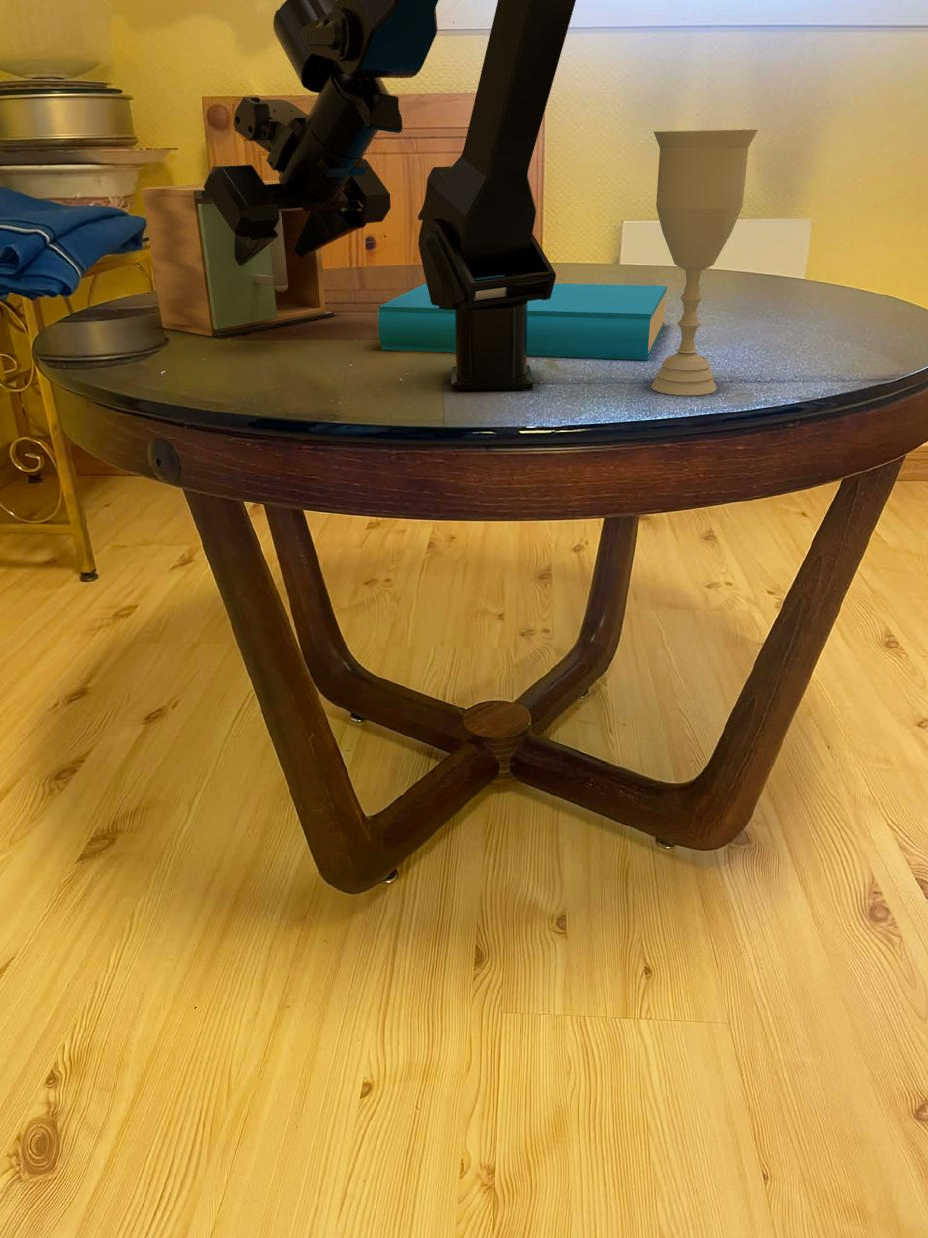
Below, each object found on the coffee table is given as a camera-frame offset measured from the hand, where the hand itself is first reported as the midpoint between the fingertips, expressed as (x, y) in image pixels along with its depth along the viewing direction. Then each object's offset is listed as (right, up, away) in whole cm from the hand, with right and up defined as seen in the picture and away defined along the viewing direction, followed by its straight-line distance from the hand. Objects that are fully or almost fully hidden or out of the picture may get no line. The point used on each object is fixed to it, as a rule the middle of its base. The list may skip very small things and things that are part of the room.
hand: (269, 257), depth 97 cm
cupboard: (-4, -4, +9) cm, 10 cm away
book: (+26, -9, -2) cm, 27 cm away
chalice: (+37, -18, -21) cm, 46 cm away
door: (-1, -6, +2) cm, 7 cm away
